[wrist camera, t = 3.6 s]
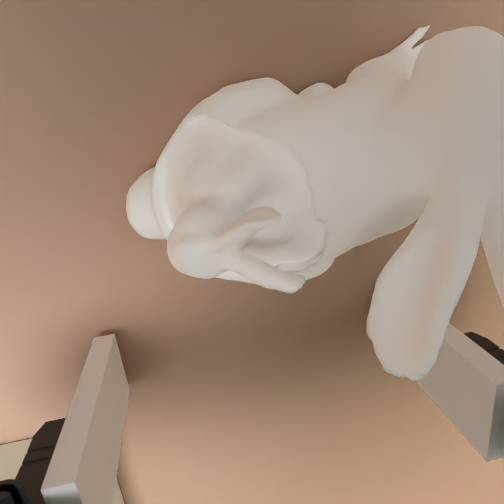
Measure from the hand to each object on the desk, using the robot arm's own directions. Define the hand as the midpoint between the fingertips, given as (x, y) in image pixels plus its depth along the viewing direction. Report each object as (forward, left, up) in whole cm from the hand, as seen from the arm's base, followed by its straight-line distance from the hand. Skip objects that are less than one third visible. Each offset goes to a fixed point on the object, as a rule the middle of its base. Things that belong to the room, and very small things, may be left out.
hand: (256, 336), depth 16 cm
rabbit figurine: (-6, +2, -1) cm, 7 cm away
